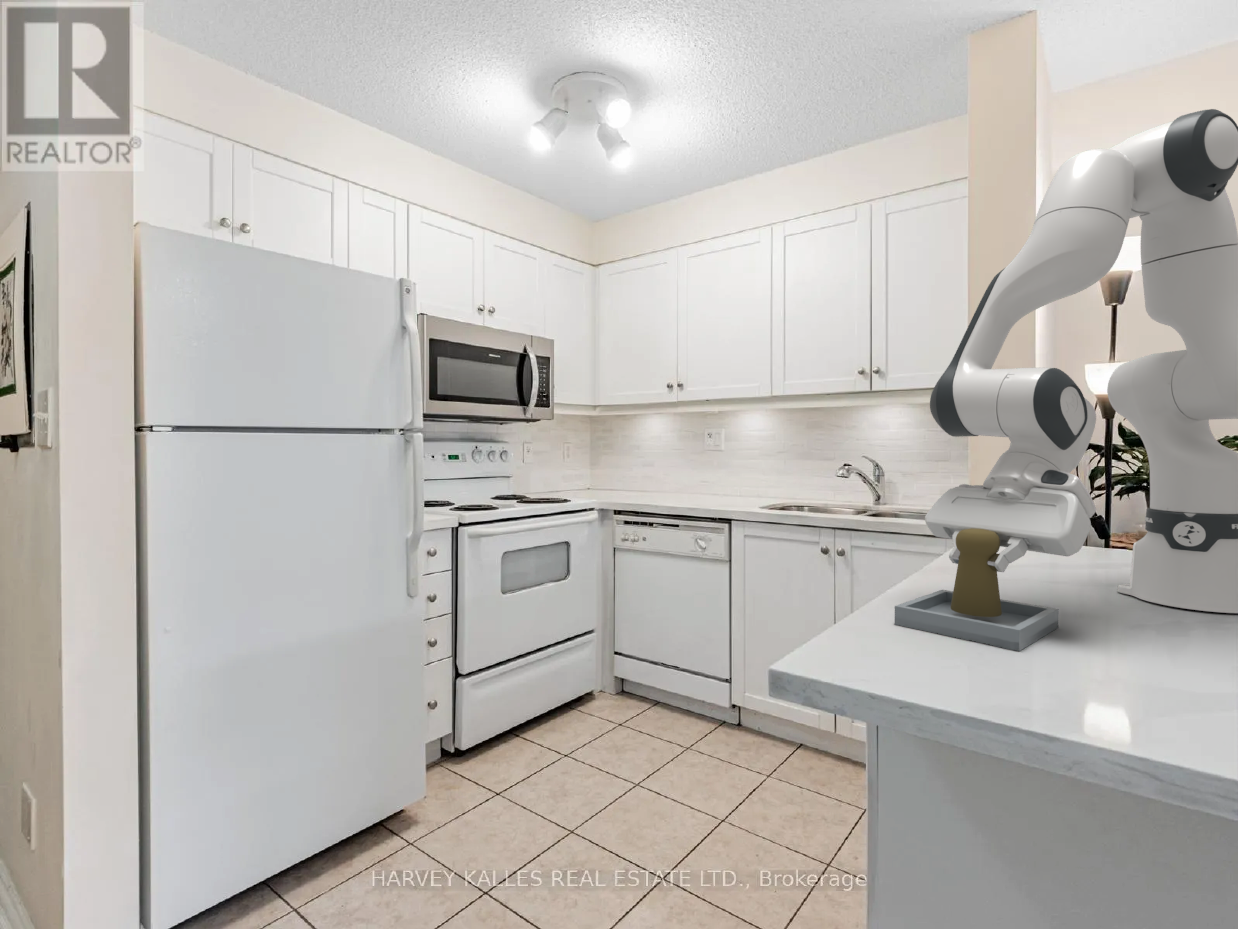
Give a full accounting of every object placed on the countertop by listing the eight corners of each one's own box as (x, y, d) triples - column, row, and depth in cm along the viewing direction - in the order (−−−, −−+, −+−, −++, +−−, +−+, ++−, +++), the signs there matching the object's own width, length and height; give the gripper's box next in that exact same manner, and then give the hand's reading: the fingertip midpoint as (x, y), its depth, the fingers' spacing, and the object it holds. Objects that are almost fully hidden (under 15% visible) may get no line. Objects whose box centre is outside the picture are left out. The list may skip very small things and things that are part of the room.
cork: (1009, 618, 83) (1012, 533, 83) (959, 615, 84) (961, 531, 84) (991, 606, 89) (993, 526, 89) (944, 604, 90) (946, 525, 90)
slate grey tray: (941, 606, 98) (942, 589, 97) (1058, 627, 86) (1058, 609, 86) (894, 624, 88) (894, 606, 88) (1019, 651, 76) (1019, 630, 76)
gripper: (943, 470, 99) (897, 538, 95) (1092, 477, 80) (1043, 562, 76) (962, 498, 101) (918, 566, 97) (1110, 511, 83) (1064, 595, 79)
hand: (974, 564), depth 86 cm, fingers closed on cork, 4 cm apart
